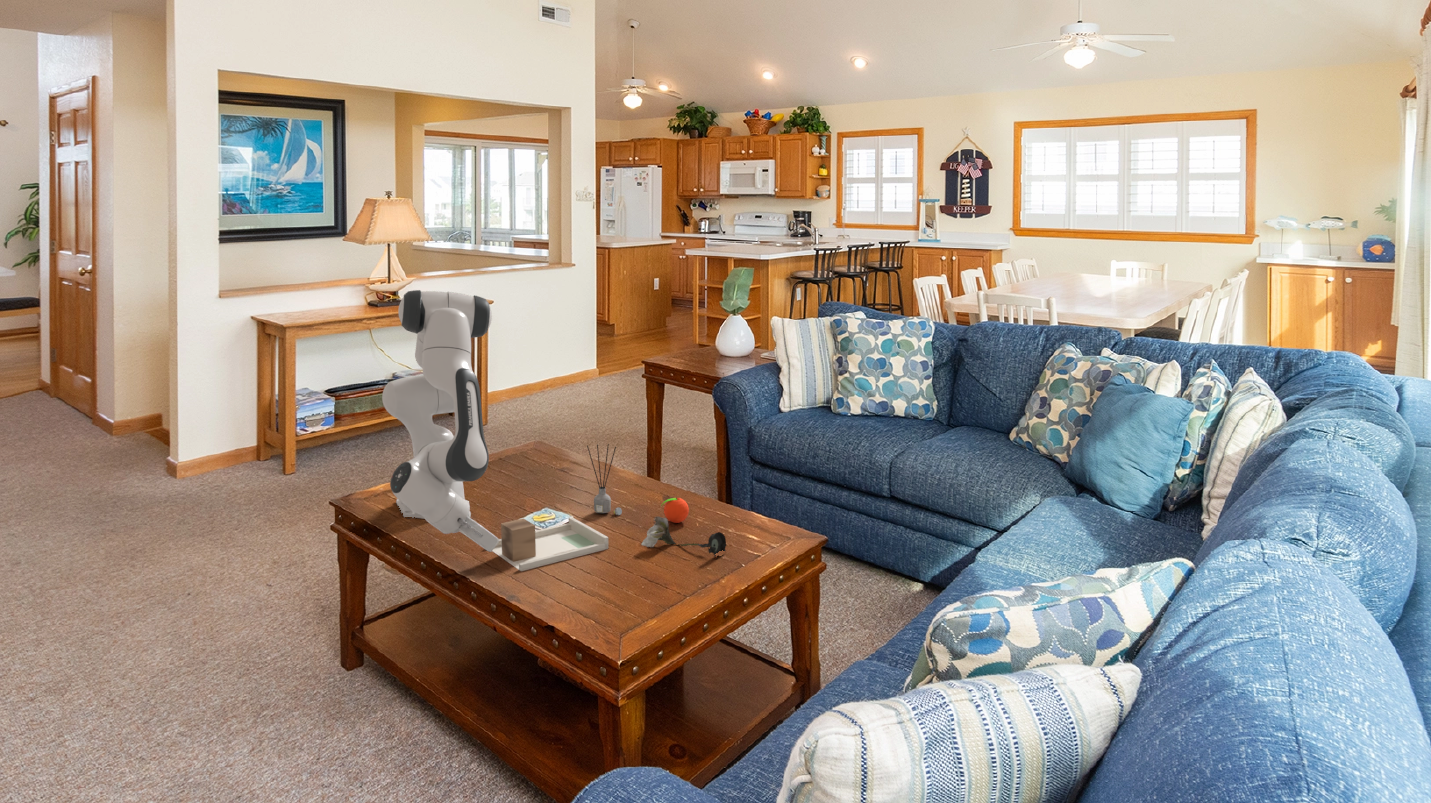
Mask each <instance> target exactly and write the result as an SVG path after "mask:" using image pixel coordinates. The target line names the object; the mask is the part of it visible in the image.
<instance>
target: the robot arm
mask: <svg viewBox="0 0 1431 803" xmlns="http://www.w3.org/2000/svg"><path fill="white" fill-rule="evenodd" d="M397 310H398V318H399V321H400V323H401V324H400V325H401V327H402V328H403V329H404V330H406V331H408V332H409V333H410V332H411V333H412V334H417V335H416V343H415V352H414V358H415V361H416V363H417V364H418V367H420V368H421V369H422V374H423V375H413V376H405V377H400V378H397V379H395V380H390V381H388V382H387V384H386V385H385V387H384V388H383V391H382V395H381V396H382V397H381V399H382V400H381V401H382V405H383V408H384V409H385V410H386V412H387V413H389V414H388V415H391V416H392V417H393V418H395V419H396V420H398V421H399V422H401V424H403V425H404V426H405V428H406V429H407V432H408V433H409V435H410V439H411V445H412V451H413V458H412V459H409V460H407V461H404V462H402V463H401V464H399V465H398V466H397V467H396V469H394V471H393V473H392V475H391V478H390V481H389V482H390V483H389V485H390V486H389V487H390V490H391V492H392V494H393V496H395V497H396V503H395V504H396V505H397V507H398V506H399V507H398V508H400V509H399V511H400V510H401V511H400V513H401V514H402V513H403V515H402V516H403V518H405V517H412V518H411V519H416V518H417V519H422V520H423V519H425V521H426V522H428V523H429V524H430V525H431V526H433V527H434V528H435V529H437V531H440V532H441V533H442V534H444V535H449V534H451V533H452V534H455V533H456V534H457V533H459V532H460V533H461V534H462V535H465V536H466V537H467V538H469V539H470V540H471V541H473V542H474V543H475V544H477V545H478V546H480V547H481V548H483V549H484V550H485V551H487V552H489V553H490V552H491V553H492V552H493V551H492V550H493V549H494V548H495V547H496V545H497V544H498V542H499V539H500V538H498V537H497V536H496V535H495V534H493V533H492V532H491V531H489V530H488V529H487V528H485V527H484V526H483V525H481V524H480V523H478V521H476V520H474V519H472V518H471V515H472V512H471V511H470V510H471V509H470V508H471V506H470V501H469V500H467V499H466V498H465V490H464V482H473V481H474V482H475V481H477V480H478V479H480V478H482V476H483V475H484V474H485V473H486V472H487V469H488V465H489V460H490V454H489V450H488V447H487V442H486V439H485V434H484V433H485V432H484V422H483V412H482V398H481V389H480V384H479V380H478V378H477V375H476V374H475V373H474V371H473V368H472V338H473V339H474V338H480V337H481V338H482V337H483V336H485V335H486V334H487V332H488V330H489V328H490V326H491V324H492V320H493V318H492V317H493V315H492V310H491V305H490V302H489V301H488V300H487V299H486V298H484V297H482V296H478V295H473V296H472V295H469V294H465V293H458V292H452V291H447V292H446V291H437V290H436V291H435V290H434V291H433V290H432V291H430V290H429V291H428V290H426V291H422V290H420V289H418V290H417V289H414V290H410V291H409V290H408V291H406V292H405V293H404V295H403V297H402V299H401V300H400V303H399V305H398V309H397ZM449 413H454V422H455V423H454V424H455V434H453V432H452V431H451V430H449V429H448V428H446V427H444V426H442V425H439V424H436V423H434V420H433V416H434V415H435V416H436V415H441V414H449ZM414 517H415V518H414Z"/></svg>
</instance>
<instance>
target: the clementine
mask: <svg viewBox="0 0 1431 803" xmlns="http://www.w3.org/2000/svg"><path fill="white" fill-rule="evenodd" d="M663 505H664V507H663V514H664V516H665V517H664V518H666V519H667V520H668V522H670V523H674V524H677V523H678V524H680V523H681V522H684V521H685V520H686V519H687V518H688V516H689V512H690V508H689V505H688V503H687V501H686V500H684V499H683V498H681V497H671V498H668V499H666V500H664V501H663V502H662V504H661V505H660V507H662V506H663Z"/></svg>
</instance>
